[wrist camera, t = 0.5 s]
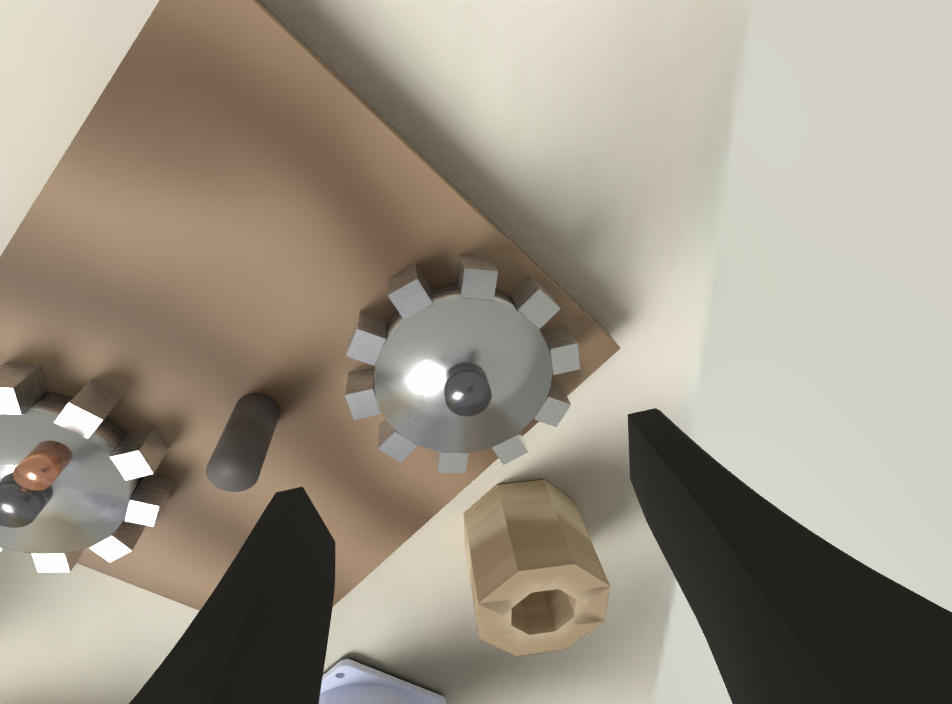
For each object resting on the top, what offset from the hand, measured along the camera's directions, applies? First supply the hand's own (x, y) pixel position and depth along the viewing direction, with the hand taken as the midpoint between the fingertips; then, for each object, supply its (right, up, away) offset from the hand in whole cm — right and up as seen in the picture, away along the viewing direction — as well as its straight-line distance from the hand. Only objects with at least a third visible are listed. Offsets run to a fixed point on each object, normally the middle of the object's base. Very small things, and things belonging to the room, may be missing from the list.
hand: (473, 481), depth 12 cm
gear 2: (-1, +2, +8) cm, 9 cm away
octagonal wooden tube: (+2, -6, +15) cm, 16 cm away
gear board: (-8, +1, +10) cm, 13 cm away
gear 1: (-16, -1, +8) cm, 18 cm away
